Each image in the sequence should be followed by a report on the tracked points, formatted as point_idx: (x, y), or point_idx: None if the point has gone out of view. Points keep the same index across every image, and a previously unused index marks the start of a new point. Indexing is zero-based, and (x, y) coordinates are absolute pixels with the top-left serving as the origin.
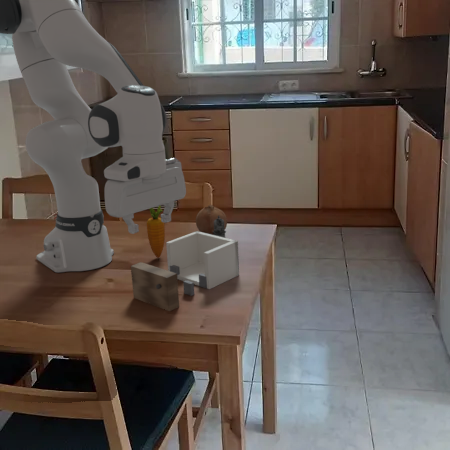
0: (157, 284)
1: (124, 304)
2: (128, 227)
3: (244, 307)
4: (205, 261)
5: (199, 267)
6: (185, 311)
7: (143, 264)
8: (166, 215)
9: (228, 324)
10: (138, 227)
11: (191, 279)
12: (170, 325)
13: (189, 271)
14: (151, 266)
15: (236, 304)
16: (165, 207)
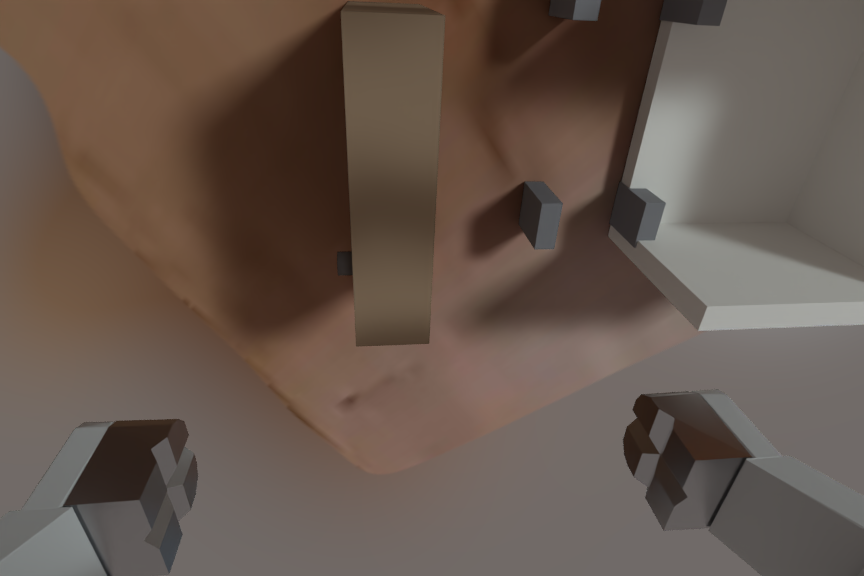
0: (341, 265)
1: (261, 27)
2: (47, 483)
3: (528, 405)
4: (676, 287)
5: (810, 48)
6: None
7: (421, 77)
8: (671, 527)
9: (409, 438)
10: (178, 536)
11: (646, 133)
12: (282, 334)
13: (742, 42)
14: (426, 157)
15: (535, 379)
16: (845, 534)
